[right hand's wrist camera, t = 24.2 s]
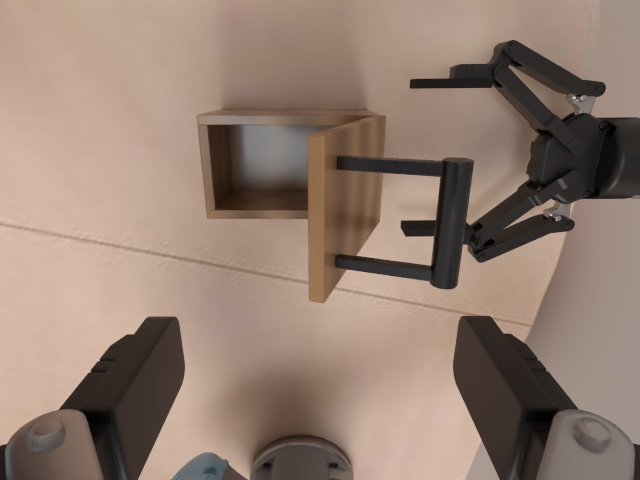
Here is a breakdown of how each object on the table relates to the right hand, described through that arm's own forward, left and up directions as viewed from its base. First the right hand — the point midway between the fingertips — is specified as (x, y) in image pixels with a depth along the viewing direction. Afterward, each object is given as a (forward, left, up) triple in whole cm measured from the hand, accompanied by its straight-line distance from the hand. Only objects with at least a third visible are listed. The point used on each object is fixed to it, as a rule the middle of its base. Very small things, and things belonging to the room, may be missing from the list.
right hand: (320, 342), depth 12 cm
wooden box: (0, -3, -35) cm, 35 cm away
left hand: (+1, +8, -29) cm, 30 cm away
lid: (0, +2, -18) cm, 18 cm away
